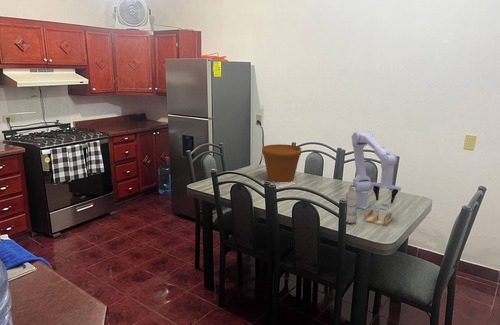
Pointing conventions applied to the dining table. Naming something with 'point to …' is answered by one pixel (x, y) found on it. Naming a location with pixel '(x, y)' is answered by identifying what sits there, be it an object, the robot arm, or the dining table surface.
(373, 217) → the rack
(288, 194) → the dining table surface
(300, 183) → the dining table surface
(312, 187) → the dining table surface
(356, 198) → the plastic bottle
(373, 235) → the dining table surface
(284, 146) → the flowerpot
